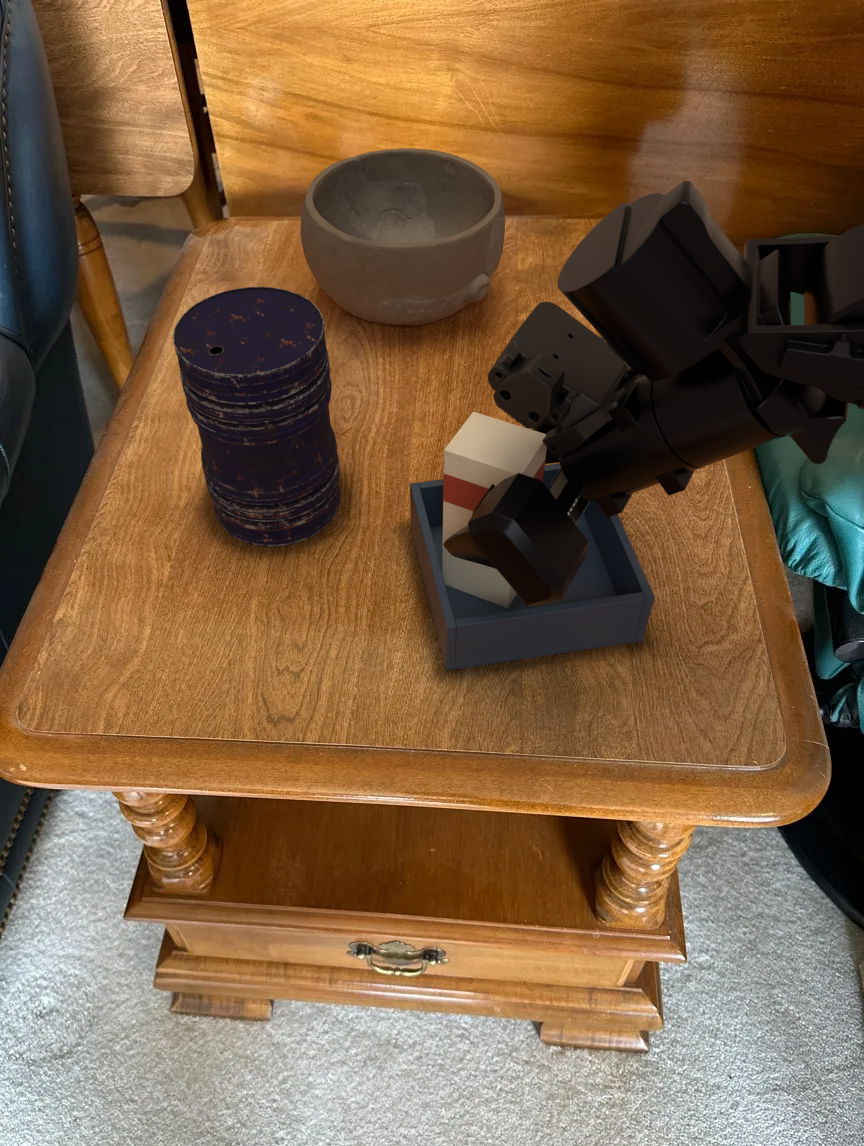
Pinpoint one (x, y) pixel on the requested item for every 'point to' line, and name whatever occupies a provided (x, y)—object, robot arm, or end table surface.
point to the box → (497, 634)
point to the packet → (483, 492)
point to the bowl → (403, 234)
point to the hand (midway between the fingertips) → (480, 502)
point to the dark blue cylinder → (262, 412)
